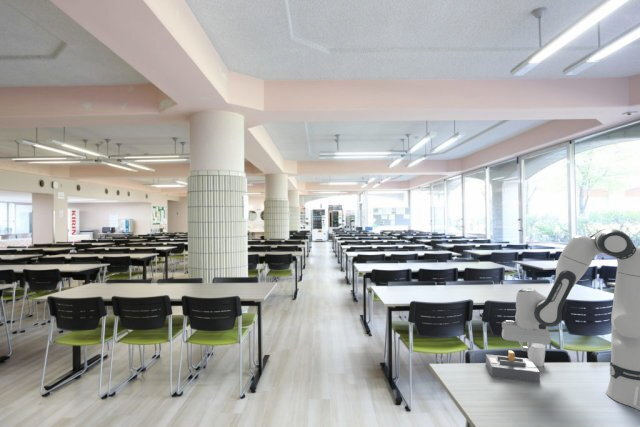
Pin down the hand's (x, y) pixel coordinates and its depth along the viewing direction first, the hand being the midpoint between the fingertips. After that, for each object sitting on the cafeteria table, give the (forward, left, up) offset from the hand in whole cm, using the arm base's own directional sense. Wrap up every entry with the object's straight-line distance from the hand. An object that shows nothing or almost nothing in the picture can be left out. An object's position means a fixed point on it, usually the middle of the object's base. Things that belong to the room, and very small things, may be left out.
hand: (525, 350), depth 161 cm
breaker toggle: (+6, 0, -6) cm, 9 cm away
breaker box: (+6, 0, -12) cm, 13 cm away
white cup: (-9, -14, -12) cm, 20 cm away
